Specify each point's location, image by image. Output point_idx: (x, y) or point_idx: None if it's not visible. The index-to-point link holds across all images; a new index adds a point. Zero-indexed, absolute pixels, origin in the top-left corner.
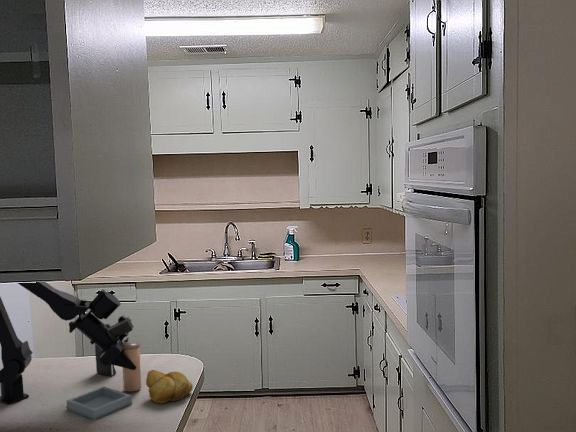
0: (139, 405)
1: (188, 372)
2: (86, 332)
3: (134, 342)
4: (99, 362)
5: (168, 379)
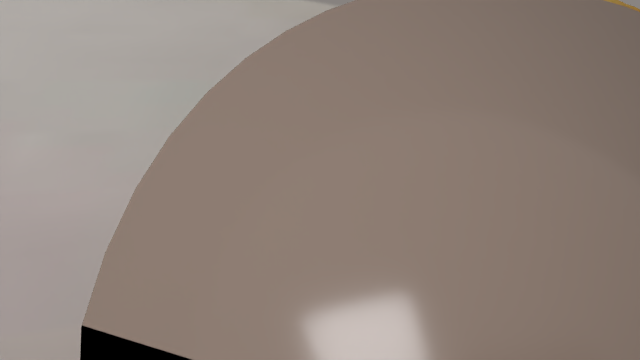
0: None
1: (11, 7)
2: None
3: (371, 191)
4: None
5: (625, 6)
